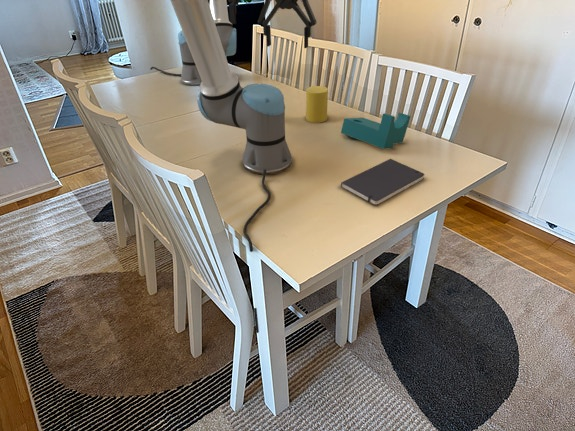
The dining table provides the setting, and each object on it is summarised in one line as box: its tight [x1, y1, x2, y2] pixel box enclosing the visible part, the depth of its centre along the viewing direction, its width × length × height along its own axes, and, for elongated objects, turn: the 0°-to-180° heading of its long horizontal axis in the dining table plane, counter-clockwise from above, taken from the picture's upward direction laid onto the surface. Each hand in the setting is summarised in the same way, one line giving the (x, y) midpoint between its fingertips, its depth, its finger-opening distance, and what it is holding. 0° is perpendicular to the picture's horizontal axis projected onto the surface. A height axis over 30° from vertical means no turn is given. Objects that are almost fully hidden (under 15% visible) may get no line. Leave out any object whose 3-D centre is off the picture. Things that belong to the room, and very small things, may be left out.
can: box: [305, 85, 329, 124], centre depth 151 cm, size 8×8×11 cm
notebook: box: [340, 158, 425, 206], centre depth 114 cm, size 13×2×21 cm
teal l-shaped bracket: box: [340, 112, 412, 150], centre depth 135 cm, size 18×11×10 cm, turn 43°
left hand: (220, 26), depth 155 cm, fingers open, 13 cm apart
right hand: (287, 46), depth 142 cm, fingers open, 13 cm apart
